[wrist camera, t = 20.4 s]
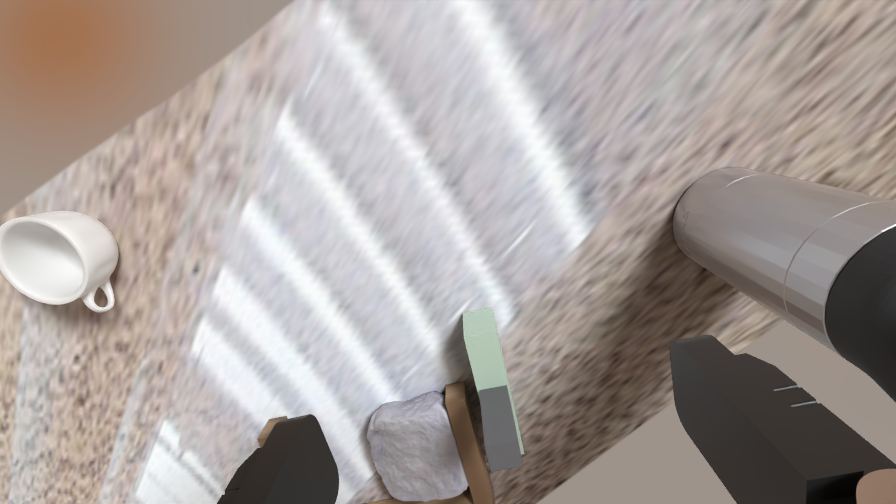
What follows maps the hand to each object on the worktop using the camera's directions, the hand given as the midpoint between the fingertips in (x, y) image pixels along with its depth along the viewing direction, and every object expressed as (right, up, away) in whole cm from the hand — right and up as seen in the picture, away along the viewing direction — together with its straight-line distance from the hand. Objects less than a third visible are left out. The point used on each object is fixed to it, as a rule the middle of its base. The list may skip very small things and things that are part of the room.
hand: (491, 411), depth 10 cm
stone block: (-5, -17, +39) cm, 43 cm away
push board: (+4, -9, +36) cm, 37 cm away
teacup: (-35, +4, +32) cm, 47 cm away
